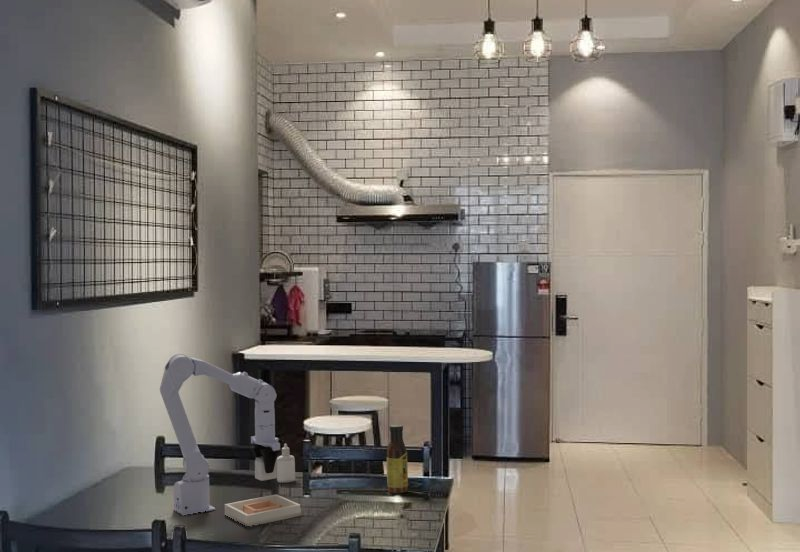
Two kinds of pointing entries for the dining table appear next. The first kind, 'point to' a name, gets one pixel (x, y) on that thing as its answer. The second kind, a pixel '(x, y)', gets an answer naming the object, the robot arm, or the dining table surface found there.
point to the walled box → (262, 510)
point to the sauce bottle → (397, 461)
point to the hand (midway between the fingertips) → (265, 471)
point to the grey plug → (260, 470)
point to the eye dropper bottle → (285, 466)
